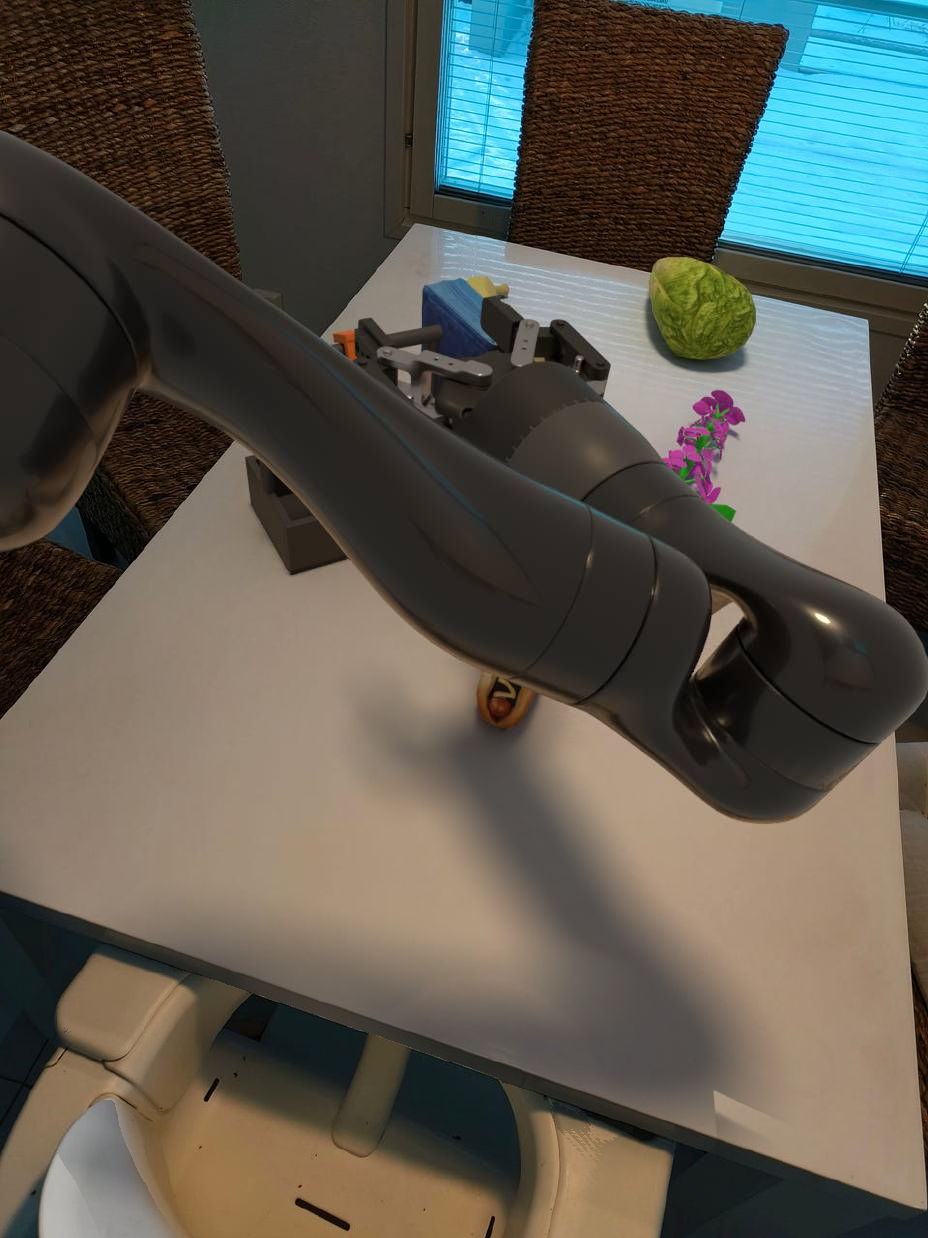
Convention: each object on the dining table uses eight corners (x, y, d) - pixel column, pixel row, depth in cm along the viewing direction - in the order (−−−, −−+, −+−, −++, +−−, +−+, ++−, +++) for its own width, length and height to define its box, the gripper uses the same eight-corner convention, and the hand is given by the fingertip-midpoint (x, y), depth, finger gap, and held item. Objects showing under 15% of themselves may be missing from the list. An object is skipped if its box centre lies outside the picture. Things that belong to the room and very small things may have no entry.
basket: (288, 575, 82) (272, 398, 67) (248, 504, 88) (226, 328, 74) (453, 527, 89) (470, 356, 74) (404, 464, 95) (411, 296, 81)
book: (516, 504, 92) (544, 333, 77) (474, 518, 90) (495, 345, 75) (450, 433, 100) (464, 266, 85) (410, 444, 98) (417, 274, 83)
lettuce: (719, 256, 128) (666, 202, 121) (785, 329, 111) (728, 270, 104) (659, 318, 134) (606, 269, 127) (713, 396, 116) (654, 344, 110)
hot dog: (460, 729, 71) (466, 692, 68) (509, 622, 80) (516, 585, 76) (517, 749, 70) (525, 712, 67) (560, 639, 79) (570, 602, 75)
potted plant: (577, 610, 87) (664, 457, 112) (740, 600, 78) (796, 436, 103) (540, 505, 81) (640, 368, 106) (711, 481, 72) (777, 337, 97)
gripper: (695, 378, 44) (531, 245, 53) (451, 438, 38) (315, 279, 48) (658, 492, 49) (515, 354, 58) (440, 559, 44) (320, 395, 53)
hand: (426, 320), depth 53 cm, fingers open, 8 cm apart
